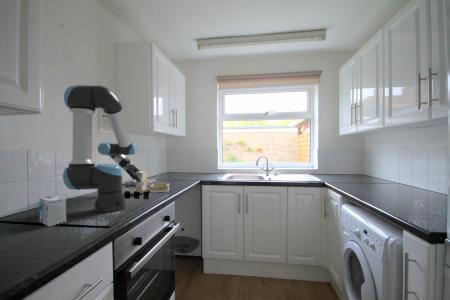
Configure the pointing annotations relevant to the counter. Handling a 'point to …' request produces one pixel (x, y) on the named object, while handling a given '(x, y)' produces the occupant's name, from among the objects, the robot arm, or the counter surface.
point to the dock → (159, 187)
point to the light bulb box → (52, 210)
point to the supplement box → (144, 177)
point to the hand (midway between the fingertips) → (146, 183)
